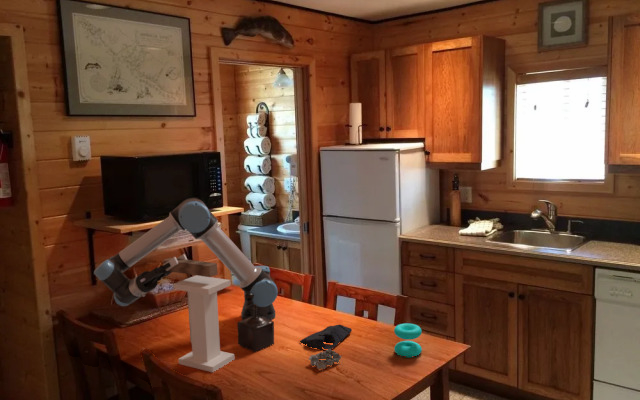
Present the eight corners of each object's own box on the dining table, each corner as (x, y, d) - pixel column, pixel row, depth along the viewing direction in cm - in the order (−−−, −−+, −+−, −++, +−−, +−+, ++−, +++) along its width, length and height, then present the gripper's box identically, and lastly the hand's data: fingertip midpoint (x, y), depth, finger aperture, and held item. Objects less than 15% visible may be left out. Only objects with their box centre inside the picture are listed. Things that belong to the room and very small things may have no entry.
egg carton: (320, 372, 188) (319, 361, 188) (307, 365, 194) (306, 354, 194) (343, 363, 195) (343, 352, 194) (330, 357, 201) (330, 346, 200)
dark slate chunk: (358, 335, 221) (358, 323, 221) (327, 354, 204) (327, 342, 203) (327, 327, 230) (327, 317, 230) (295, 345, 213) (294, 334, 212)
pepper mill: (276, 343, 214) (276, 299, 211) (254, 352, 206) (254, 307, 203) (250, 332, 224) (250, 290, 221) (228, 340, 216) (228, 297, 213)
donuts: (410, 320, 207) (427, 328, 198) (410, 345, 208) (427, 354, 200) (388, 325, 203) (404, 334, 194) (389, 351, 204) (405, 361, 195)
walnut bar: (163, 270, 201) (162, 260, 200) (171, 268, 204) (170, 257, 204) (210, 277, 190) (209, 266, 190) (217, 274, 194) (216, 263, 193)
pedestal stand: (178, 363, 198) (173, 283, 194) (201, 351, 208) (196, 275, 204) (213, 372, 190) (208, 289, 186) (234, 359, 201) (230, 280, 196)
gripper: (164, 286, 217) (201, 262, 205) (130, 298, 202) (168, 274, 191) (156, 269, 218) (192, 244, 206) (121, 280, 203) (159, 254, 192)
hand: (180, 258), depth 199 cm, fingers closed on walnut bar, 4 cm apart
